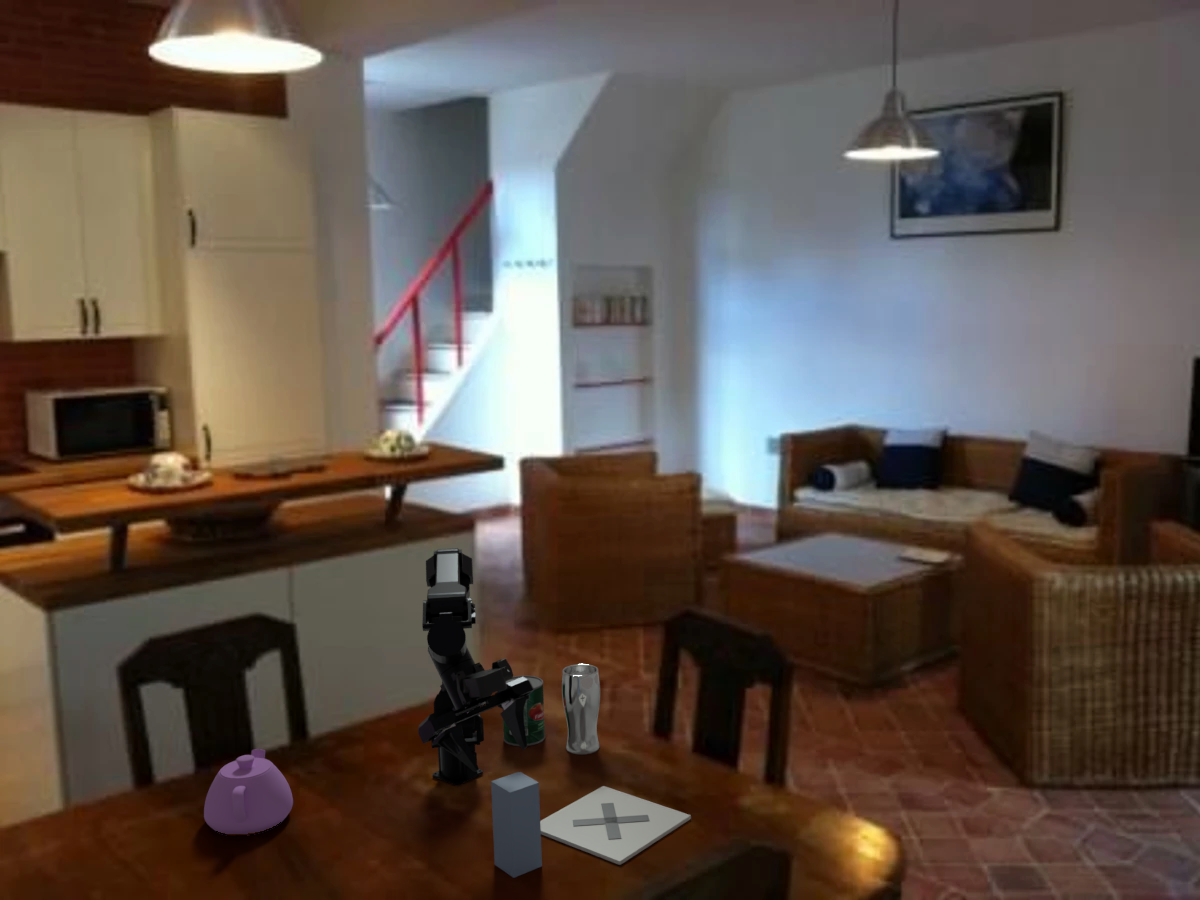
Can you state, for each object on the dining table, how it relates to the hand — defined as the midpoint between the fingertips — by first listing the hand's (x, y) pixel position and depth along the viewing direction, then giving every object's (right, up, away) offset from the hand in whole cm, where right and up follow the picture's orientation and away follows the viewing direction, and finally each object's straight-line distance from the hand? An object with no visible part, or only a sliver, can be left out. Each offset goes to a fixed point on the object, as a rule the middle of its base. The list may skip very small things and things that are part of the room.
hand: (501, 759), depth 171 cm
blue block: (+3, -14, -6) cm, 15 cm away
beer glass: (+12, -8, +36) cm, 39 cm away
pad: (+17, -12, +6) cm, 22 cm away
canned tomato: (+1, -8, +41) cm, 42 cm away
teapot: (-42, -13, +12) cm, 46 cm away
